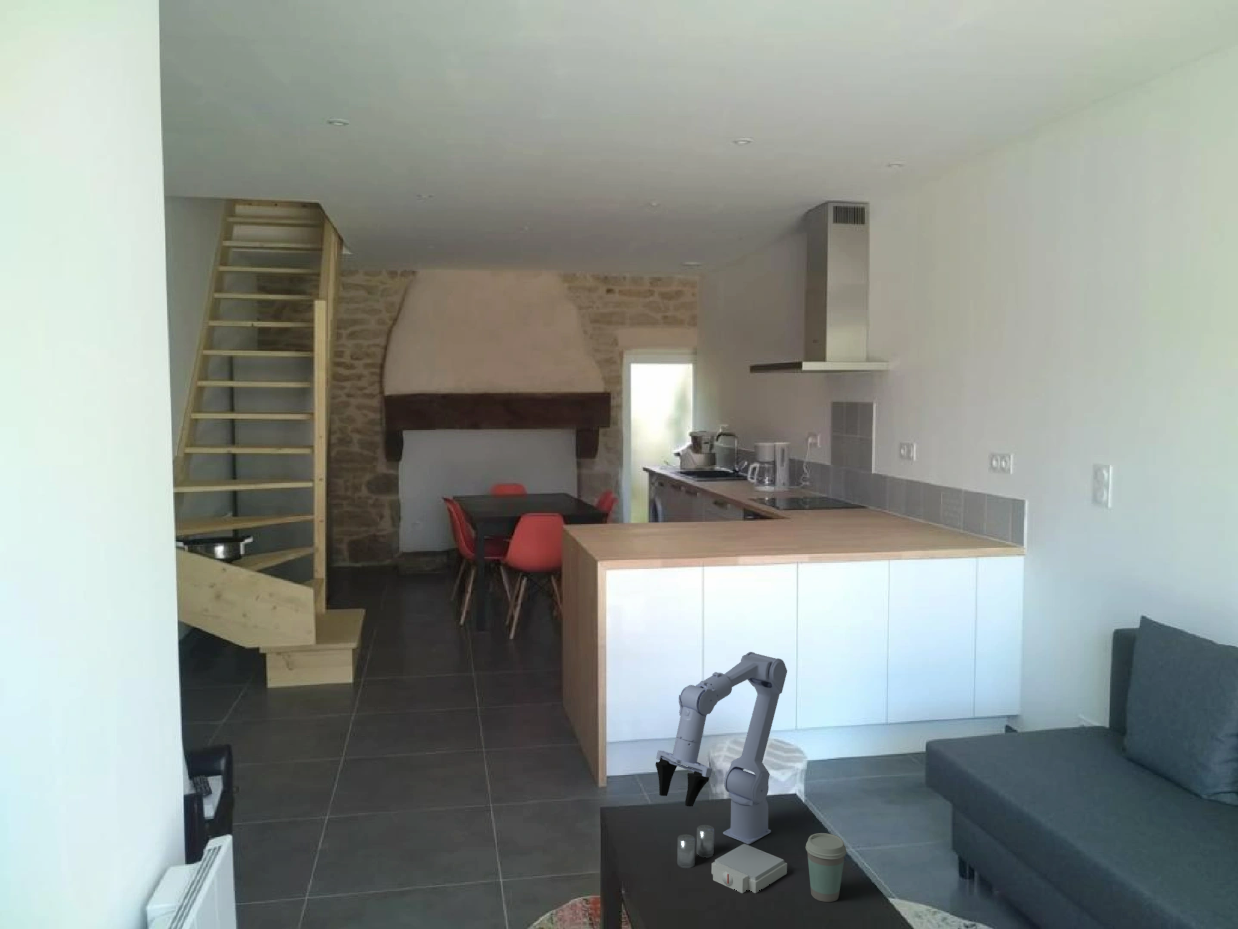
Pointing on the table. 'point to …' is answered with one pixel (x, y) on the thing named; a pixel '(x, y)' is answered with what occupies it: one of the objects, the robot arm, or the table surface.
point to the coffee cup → (825, 865)
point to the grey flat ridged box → (748, 869)
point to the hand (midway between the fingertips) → (675, 800)
